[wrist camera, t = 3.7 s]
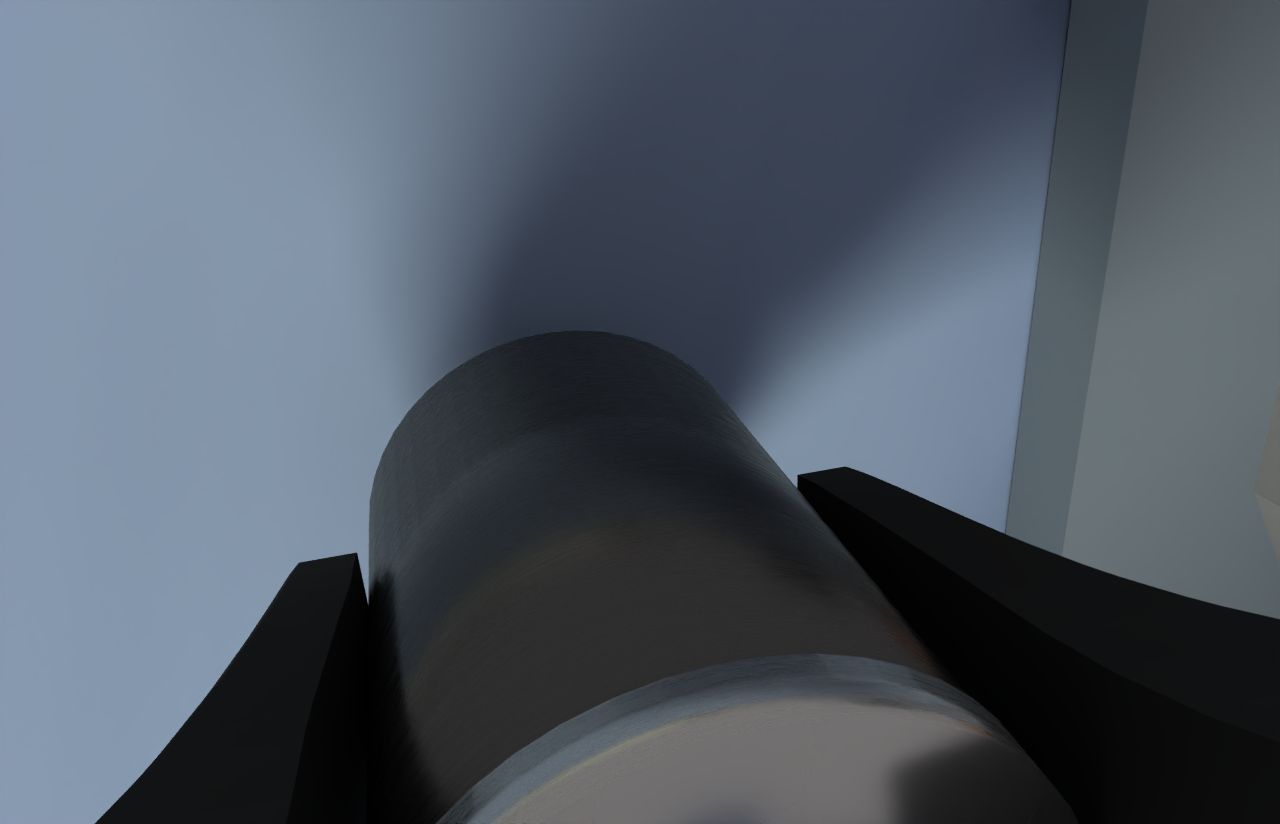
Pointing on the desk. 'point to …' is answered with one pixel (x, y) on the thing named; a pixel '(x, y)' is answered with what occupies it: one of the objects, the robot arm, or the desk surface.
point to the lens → (643, 621)
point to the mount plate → (1160, 305)
